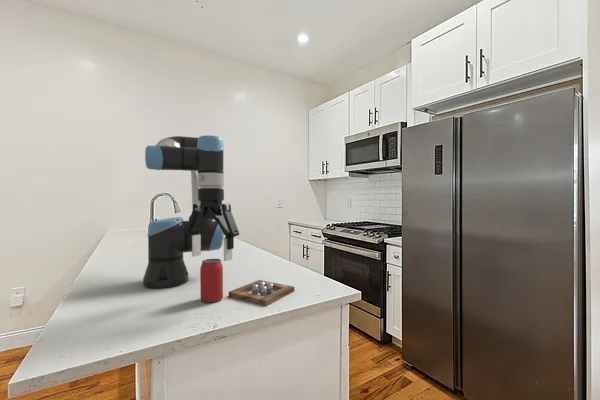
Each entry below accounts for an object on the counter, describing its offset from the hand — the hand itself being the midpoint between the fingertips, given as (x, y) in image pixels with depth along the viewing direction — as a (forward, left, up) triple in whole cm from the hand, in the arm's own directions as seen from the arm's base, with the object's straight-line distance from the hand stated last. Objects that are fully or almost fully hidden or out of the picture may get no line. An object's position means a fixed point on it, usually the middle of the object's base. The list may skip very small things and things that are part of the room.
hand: (211, 258), depth 90 cm
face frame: (+10, +12, -13) cm, 20 cm away
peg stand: (+10, +12, -13) cm, 20 cm away
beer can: (0, 0, -13) cm, 13 cm away
